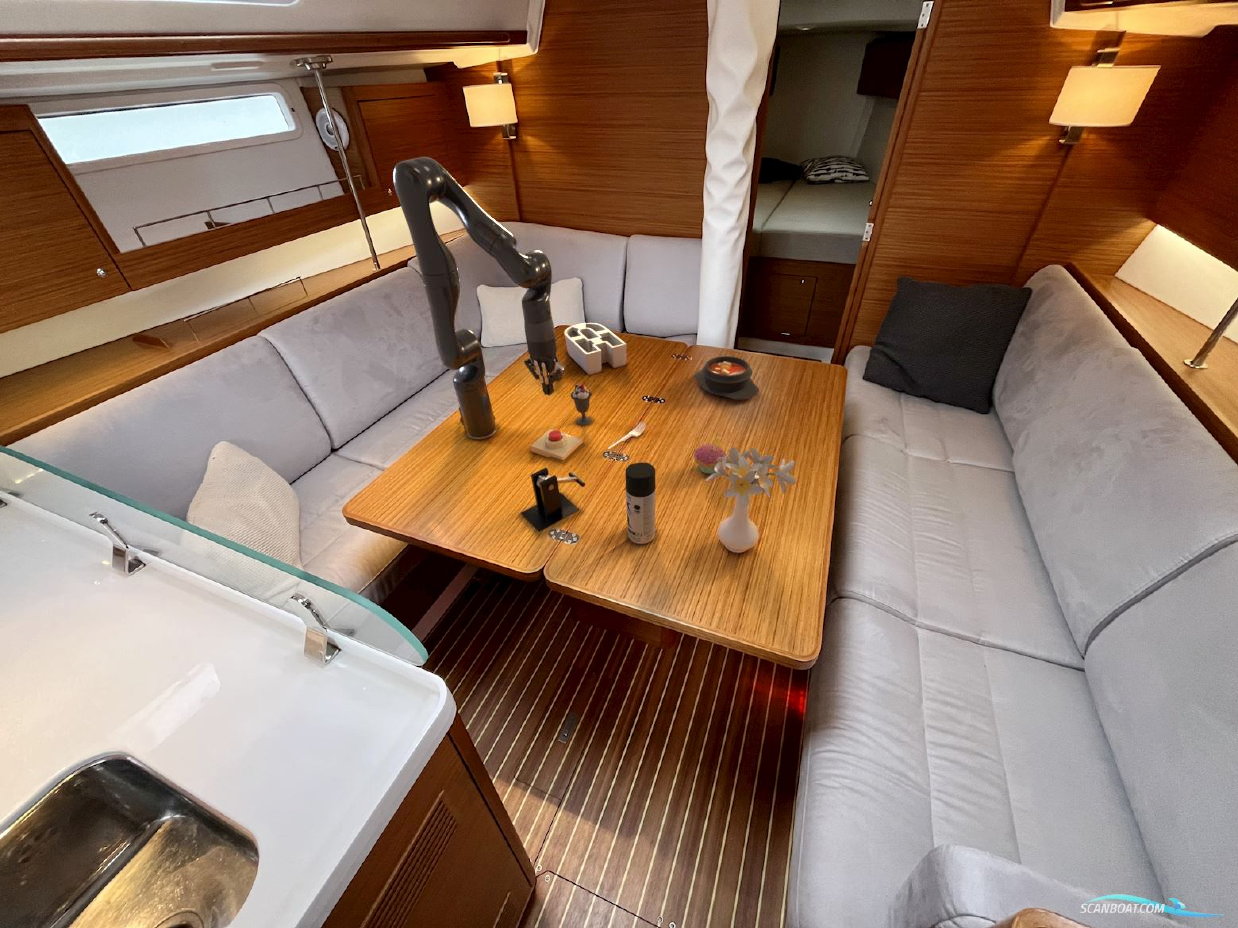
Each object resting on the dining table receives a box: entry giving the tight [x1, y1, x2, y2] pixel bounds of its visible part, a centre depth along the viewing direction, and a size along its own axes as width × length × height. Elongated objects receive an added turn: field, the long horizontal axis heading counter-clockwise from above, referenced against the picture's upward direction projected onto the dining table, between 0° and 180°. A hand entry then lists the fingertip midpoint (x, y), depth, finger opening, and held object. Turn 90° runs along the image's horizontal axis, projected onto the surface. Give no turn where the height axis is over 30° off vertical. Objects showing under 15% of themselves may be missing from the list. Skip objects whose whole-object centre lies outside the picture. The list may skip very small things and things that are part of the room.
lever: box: [537, 471, 586, 488], centre depth 124 cm, size 12×6×2 cm, turn 129°
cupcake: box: [693, 434, 726, 475], centre depth 135 cm, size 9×8×12 cm
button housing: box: [529, 428, 583, 461], centre depth 149 cm, size 12×10×4 cm
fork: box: [607, 421, 648, 450], centre depth 150 cm, size 3×20×2 cm, turn 137°
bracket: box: [520, 467, 580, 533], centre depth 123 cm, size 12×9×13 cm
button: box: [549, 429, 562, 442], centre depth 147 cm, size 4×4×2 cm
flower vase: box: [705, 446, 797, 554], centre depth 109 cm, size 13×18×25 cm
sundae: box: [570, 381, 593, 427], centre depth 156 cm, size 7×7×15 cm
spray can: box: [625, 461, 657, 545], centre depth 114 cm, size 7×7×20 cm
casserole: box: [694, 355, 760, 401], centre depth 171 cm, size 25×19×8 cm
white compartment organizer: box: [564, 322, 627, 375], centre depth 196 cm, size 17×28×9 cm, turn 27°
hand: (548, 393), depth 138 cm, fingers closed
